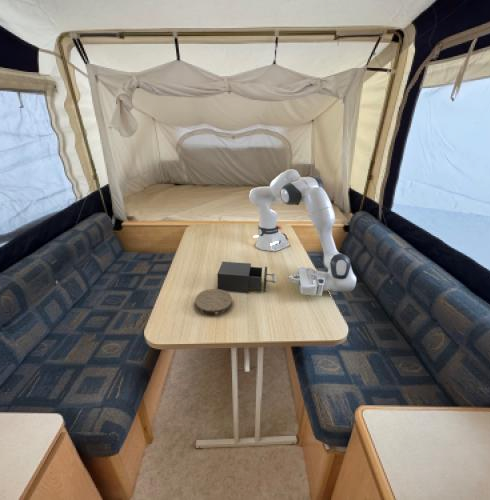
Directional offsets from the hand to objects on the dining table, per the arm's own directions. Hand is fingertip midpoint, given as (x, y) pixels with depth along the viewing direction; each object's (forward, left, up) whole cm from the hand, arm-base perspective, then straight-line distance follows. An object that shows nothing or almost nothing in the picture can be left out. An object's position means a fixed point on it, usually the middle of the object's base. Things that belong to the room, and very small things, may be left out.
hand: (289, 278), depth 126 cm
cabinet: (+21, -16, -6) cm, 27 cm away
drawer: (+12, -9, -5) cm, 16 cm away
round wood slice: (+37, -6, -6) cm, 38 cm away
